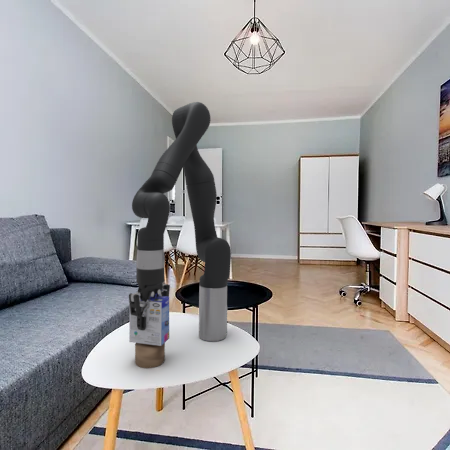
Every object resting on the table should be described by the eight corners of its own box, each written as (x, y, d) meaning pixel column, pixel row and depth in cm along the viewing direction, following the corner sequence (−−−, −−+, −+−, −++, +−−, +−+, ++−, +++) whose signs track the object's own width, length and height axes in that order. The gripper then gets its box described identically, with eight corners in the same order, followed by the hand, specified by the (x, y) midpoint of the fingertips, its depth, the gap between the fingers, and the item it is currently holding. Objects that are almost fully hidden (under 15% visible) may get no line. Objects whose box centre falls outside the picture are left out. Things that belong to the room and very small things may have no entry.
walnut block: (149, 351, 93) (149, 335, 93) (170, 358, 89) (170, 341, 89) (128, 363, 86) (128, 345, 86) (151, 371, 82) (151, 352, 82)
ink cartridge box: (170, 338, 89) (170, 288, 88) (162, 347, 84) (162, 293, 82) (138, 334, 91) (138, 285, 90) (128, 342, 86) (127, 291, 84)
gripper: (141, 271, 78) (141, 337, 79) (177, 263, 90) (177, 320, 91) (120, 268, 82) (120, 331, 82) (157, 260, 94) (157, 315, 95)
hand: (150, 325), depth 87 cm, fingers closed on ink cartridge box, 6 cm apart
